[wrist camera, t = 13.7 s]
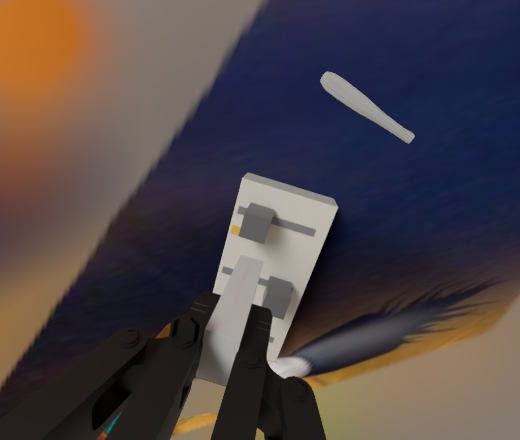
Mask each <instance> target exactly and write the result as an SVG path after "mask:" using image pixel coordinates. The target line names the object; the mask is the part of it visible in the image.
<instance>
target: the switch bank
mask: <svg viewBox="0 0 520 440" xmlns="http://www.w3.org/2000/svg"><path fill="white" fill-rule="evenodd" d="M250 203H255V204H258V205H261V206H264V207H268V208H271V209H274V213H273V216H272V220H271V223H270V227H269V230H268V233H267V236H266V239H265V242H264V244H261V243H258V242H255V241H251V240H248V239H245V238H242V237H239V232H240V229H241V225H242V221H243V218H244V214H245V211H246V210H247V208H248V206H249V205H250ZM337 209H338V206H337V204H336V202H335V200H334V199H333V198H330V197H326V196H323V195H320V194H317V193H313V192H310V191H307V190H304V189H300V188H297V187H294V186H290V185H287V184H284V183H281V182H277V181H274V180H271V179H268V178H264V177H261V176H258V175H255V174H251V173H247V174H246V175H245V176H244V177H243V178H242V181H241V185H240V189H239V193H238V197H237V201H236V205H235V208H234V212H233V216H232V220H231V224H230V228H229V232H228V235H227V239H226V243H225V247H224V251H223V255H222V259H221V262H220V266H219V270H218V274H217V278H216V282H215V286H214V289H213V293H216V294H219V295H222V293H223V291H224V289H225V287H226V284H227V282H228V280H229V278H230V276H231V274H232V272H233V270H234V268H235V266H236V263H237V261H238V259H239V257H240V255H244V256H247V257H251V258H254V259H258V260H261V261H264V263H263V266H262V270H261V274H260V277H259V281H258V284H257V288H256V292H255V295H254V299H253V302H252V304H255V305H258V306H261V305H262V300H263V295H264V291H265V288H266V285H267V283H268V280H269V277H270V276H273V277H276V278H279V279H282V280H285V281H288V282H291V301H290V304H289V307H288V309H287V312H286V314H285V317H284V319H283V320H282V319H279V318H276V317H273V319H272V325H271V331H270V337H269V344H268V350H267V360H269V361H272V362H276V359H277V357H278V355H279V352H280V350H281V347H282V345H283V342H284V340H285V337H286V335H287V332H288V330H289V327H290V325H291V322H292V320H293V318H294V315H295V313H296V310H297V308H298V305H299V303H300V300H301V298H302V295H303V293H304V290H305V288H306V285H307V283H308V281H309V278H310V276H311V273H312V271H313V268H314V266H315V263H316V261H317V258H318V256H319V253H320V251H321V248H322V246H323V244H324V241H325V239H326V236H327V234H328V231H329V229H330V226H331V224H332V221H333V219H334V216H335V214H336V211H337Z"/></svg>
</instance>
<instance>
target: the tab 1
mask: <svg viewBox="0 0 520 440" xmlns="http://www.w3.org/2000/svg"><path fill="white" fill-rule="evenodd" d="M273 213H274V209H271V208H268V207H264V206H261V205H258V204H255V203H250V205H249V206H248V208H247V210H246V211H245V214H244V218H243V221H242V225H241V229H240V232H239V237H242V238H245V239H248V240H251V241H255V242H258V243H261V244H264V242H265V239H266V236H267V233H268V230H269V227H270V223H271V220H272V216H273Z"/></svg>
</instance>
